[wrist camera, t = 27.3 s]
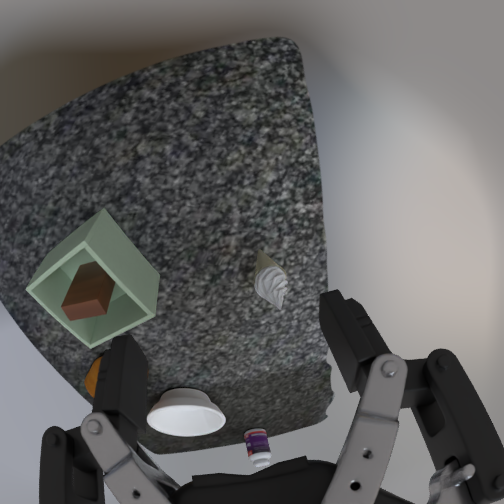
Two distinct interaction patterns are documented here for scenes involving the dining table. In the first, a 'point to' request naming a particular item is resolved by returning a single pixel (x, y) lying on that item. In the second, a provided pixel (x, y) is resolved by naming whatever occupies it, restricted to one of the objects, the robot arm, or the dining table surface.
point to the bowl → (185, 413)
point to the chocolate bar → (88, 292)
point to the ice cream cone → (270, 280)
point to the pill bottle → (257, 446)
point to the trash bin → (118, 268)
